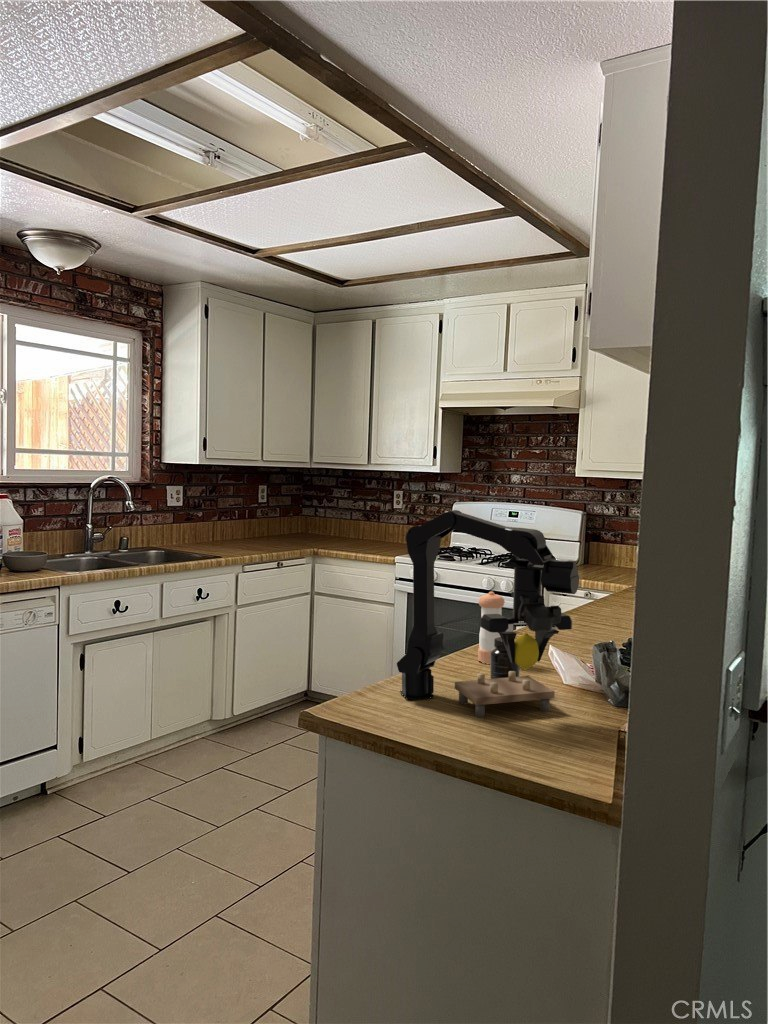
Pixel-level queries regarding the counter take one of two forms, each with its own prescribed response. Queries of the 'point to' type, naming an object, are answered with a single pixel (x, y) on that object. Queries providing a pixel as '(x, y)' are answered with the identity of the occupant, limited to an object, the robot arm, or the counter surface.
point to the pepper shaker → (489, 605)
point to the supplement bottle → (501, 661)
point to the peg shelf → (503, 692)
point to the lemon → (526, 651)
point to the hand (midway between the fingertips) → (525, 661)
